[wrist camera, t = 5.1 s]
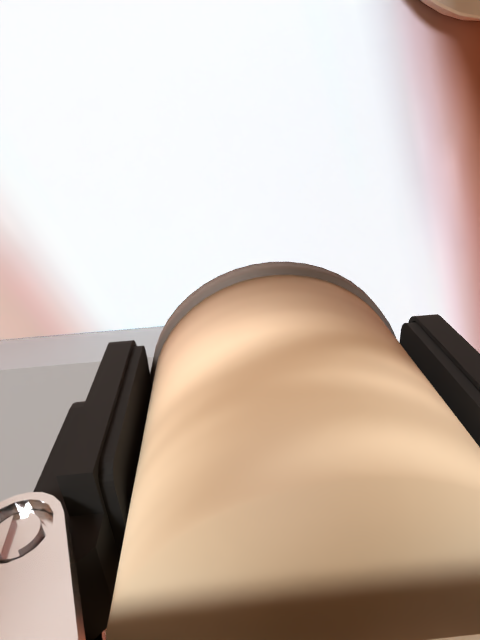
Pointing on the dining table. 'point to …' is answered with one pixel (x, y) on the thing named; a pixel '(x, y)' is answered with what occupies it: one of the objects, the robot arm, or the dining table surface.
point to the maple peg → (296, 475)
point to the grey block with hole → (47, 395)
